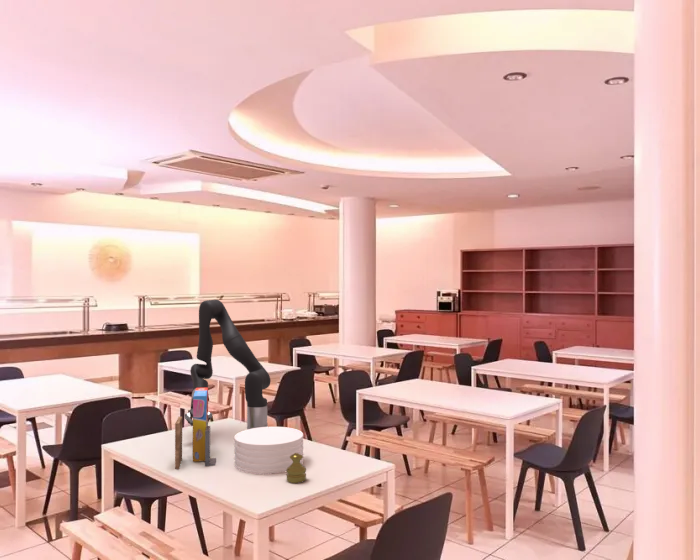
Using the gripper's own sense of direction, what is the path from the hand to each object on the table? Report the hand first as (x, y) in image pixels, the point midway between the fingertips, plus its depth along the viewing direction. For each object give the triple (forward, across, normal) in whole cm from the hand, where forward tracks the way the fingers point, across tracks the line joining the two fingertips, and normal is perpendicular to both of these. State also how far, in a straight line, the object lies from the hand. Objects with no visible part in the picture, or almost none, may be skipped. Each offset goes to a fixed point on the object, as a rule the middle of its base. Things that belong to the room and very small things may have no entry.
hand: (197, 432), depth 250 cm
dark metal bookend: (+20, +7, -11) cm, 24 cm away
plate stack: (+24, +31, -14) cm, 42 cm away
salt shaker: (+40, +40, -31) cm, 64 cm away
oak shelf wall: (+20, -5, -11) cm, 24 cm away
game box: (+12, +2, -3) cm, 13 cm away
